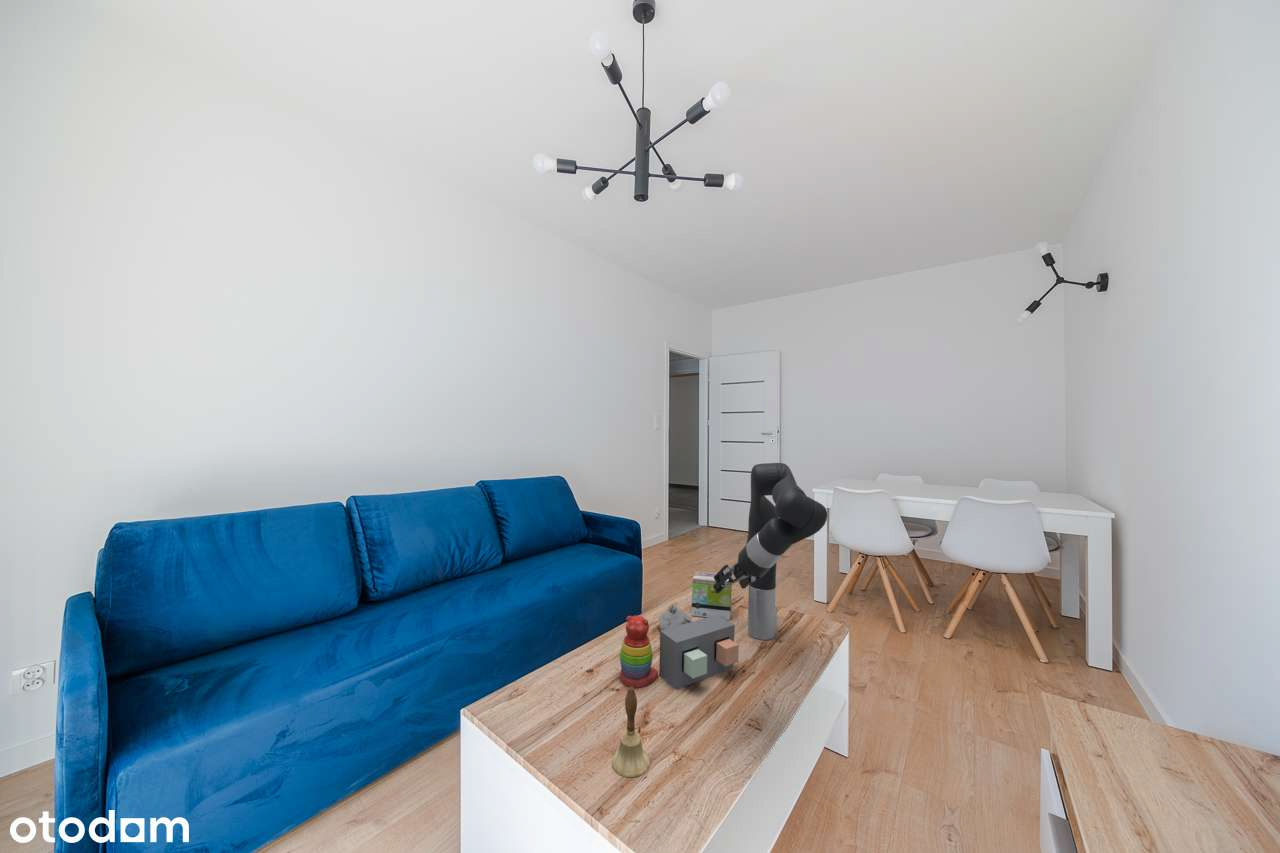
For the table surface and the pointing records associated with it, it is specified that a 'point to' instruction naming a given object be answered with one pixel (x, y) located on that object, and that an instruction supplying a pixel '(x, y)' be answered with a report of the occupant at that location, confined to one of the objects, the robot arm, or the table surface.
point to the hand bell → (630, 744)
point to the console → (692, 648)
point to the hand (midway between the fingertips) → (728, 587)
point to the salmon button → (727, 652)
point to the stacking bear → (636, 654)
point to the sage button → (695, 663)
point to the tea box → (710, 597)
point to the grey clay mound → (673, 618)
